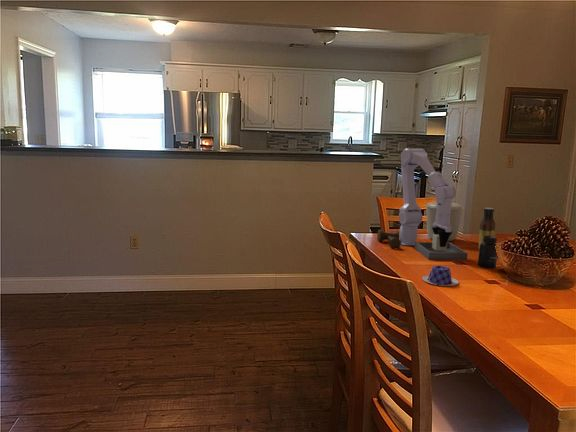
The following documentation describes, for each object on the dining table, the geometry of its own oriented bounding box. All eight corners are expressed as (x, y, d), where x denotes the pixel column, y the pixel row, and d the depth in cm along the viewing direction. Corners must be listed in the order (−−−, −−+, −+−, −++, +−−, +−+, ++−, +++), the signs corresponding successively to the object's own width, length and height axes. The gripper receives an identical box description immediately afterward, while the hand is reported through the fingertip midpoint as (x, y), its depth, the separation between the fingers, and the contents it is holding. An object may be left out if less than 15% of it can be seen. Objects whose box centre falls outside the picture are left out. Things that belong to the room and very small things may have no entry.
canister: (416, 239, 222) (420, 196, 219) (430, 233, 237) (433, 193, 233) (454, 245, 212) (458, 200, 208) (465, 239, 226) (470, 197, 222)
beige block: (431, 247, 197) (432, 234, 196) (442, 247, 197) (443, 234, 196) (435, 250, 192) (436, 236, 191) (446, 250, 192) (447, 236, 191)
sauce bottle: (490, 251, 203) (495, 207, 199) (495, 254, 197) (500, 209, 193) (475, 250, 203) (480, 206, 200) (479, 254, 197) (484, 208, 194)
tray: (414, 248, 203) (415, 242, 203) (449, 249, 204) (450, 242, 204) (428, 259, 186) (429, 252, 185) (466, 260, 187) (467, 253, 186)
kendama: (383, 249, 202) (374, 238, 222) (405, 250, 203) (394, 239, 222) (385, 236, 201) (375, 226, 221) (406, 237, 201) (395, 227, 221)
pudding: (423, 275, 166) (424, 261, 165) (458, 279, 161) (460, 265, 160) (420, 284, 155) (421, 269, 154) (457, 289, 150) (459, 274, 149)
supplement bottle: (493, 270, 173) (497, 239, 171) (475, 266, 177) (478, 236, 175) (498, 266, 179) (501, 236, 176) (480, 263, 183) (483, 234, 180)
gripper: (428, 210, 199) (425, 241, 201) (440, 216, 185) (437, 249, 187) (443, 211, 199) (441, 241, 202) (457, 217, 185) (454, 249, 187)
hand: (440, 245), depth 194 cm, fingers closed on beige block, 4 cm apart
